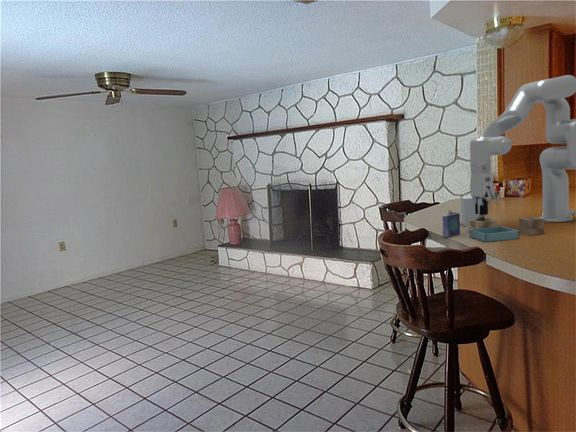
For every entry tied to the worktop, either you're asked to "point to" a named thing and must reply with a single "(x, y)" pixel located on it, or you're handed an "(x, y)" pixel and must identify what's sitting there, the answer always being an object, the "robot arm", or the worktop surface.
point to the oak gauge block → (481, 223)
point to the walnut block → (531, 226)
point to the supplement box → (467, 210)
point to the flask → (451, 224)
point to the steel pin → (481, 217)
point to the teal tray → (494, 234)
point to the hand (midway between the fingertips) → (481, 213)
